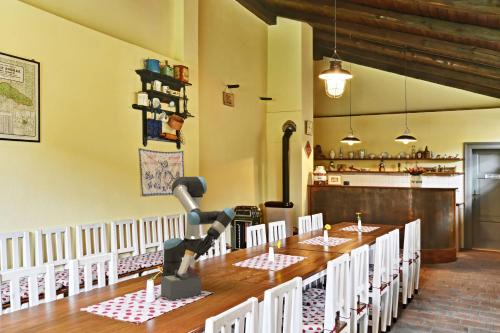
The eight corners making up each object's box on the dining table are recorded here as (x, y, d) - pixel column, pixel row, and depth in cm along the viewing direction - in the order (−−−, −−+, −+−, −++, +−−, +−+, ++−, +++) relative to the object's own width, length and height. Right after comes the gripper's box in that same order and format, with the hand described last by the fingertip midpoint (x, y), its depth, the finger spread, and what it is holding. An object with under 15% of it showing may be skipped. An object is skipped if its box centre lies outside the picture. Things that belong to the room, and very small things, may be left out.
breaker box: (160, 295, 246) (161, 271, 246) (190, 290, 256) (190, 267, 256) (170, 300, 235) (170, 276, 235) (201, 295, 245) (201, 272, 245)
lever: (176, 274, 248) (185, 249, 251) (179, 275, 249) (188, 250, 252) (181, 277, 242) (191, 251, 245) (184, 278, 243) (194, 252, 246)
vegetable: (183, 293, 262) (177, 269, 259) (181, 286, 272) (176, 263, 269) (201, 287, 264) (195, 264, 262) (198, 281, 274) (193, 258, 271)
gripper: (225, 236, 253) (200, 270, 243) (214, 233, 263) (189, 266, 254) (217, 227, 249) (191, 262, 240) (205, 225, 260) (180, 258, 251)
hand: (190, 264), depth 247 cm, fingers closed
